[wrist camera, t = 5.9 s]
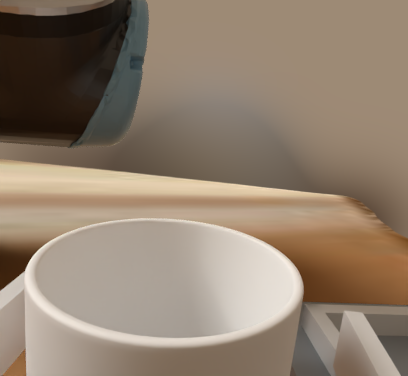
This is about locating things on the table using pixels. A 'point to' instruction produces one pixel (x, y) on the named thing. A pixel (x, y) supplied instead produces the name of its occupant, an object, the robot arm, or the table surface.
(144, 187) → the table surface
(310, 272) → the table surface
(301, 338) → the rail plate
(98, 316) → the cup
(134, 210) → the table surface
